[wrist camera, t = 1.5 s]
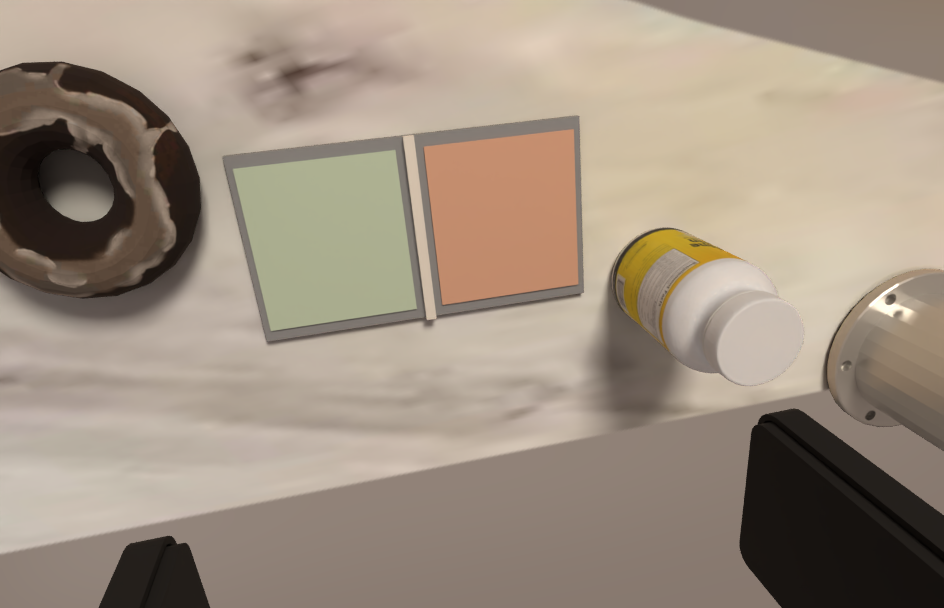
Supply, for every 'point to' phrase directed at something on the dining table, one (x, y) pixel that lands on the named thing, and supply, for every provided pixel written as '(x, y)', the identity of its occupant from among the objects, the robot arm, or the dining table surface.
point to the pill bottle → (707, 306)
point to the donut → (123, 158)
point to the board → (410, 225)
